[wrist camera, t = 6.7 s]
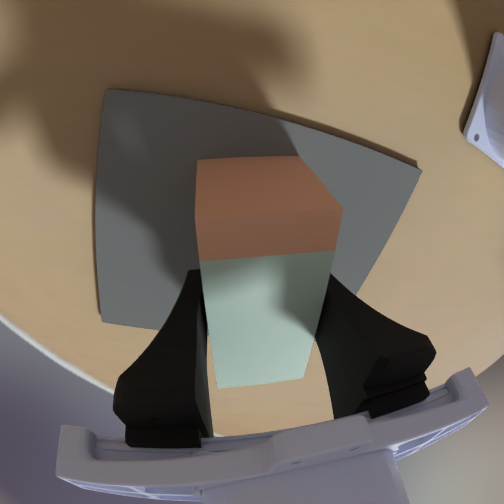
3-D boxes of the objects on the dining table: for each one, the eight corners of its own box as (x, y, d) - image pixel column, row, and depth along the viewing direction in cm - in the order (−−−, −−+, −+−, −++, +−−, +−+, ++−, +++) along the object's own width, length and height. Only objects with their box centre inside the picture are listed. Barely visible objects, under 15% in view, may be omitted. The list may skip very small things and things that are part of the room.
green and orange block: (283, 311, 19) (302, 377, 15) (212, 317, 18) (218, 388, 15) (299, 156, 13) (343, 209, 9) (197, 160, 13) (194, 217, 9)
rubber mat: (418, 168, 15) (422, 171, 14) (324, 336, 22) (325, 340, 22) (108, 88, 10) (105, 89, 10) (103, 317, 18) (101, 321, 18)
